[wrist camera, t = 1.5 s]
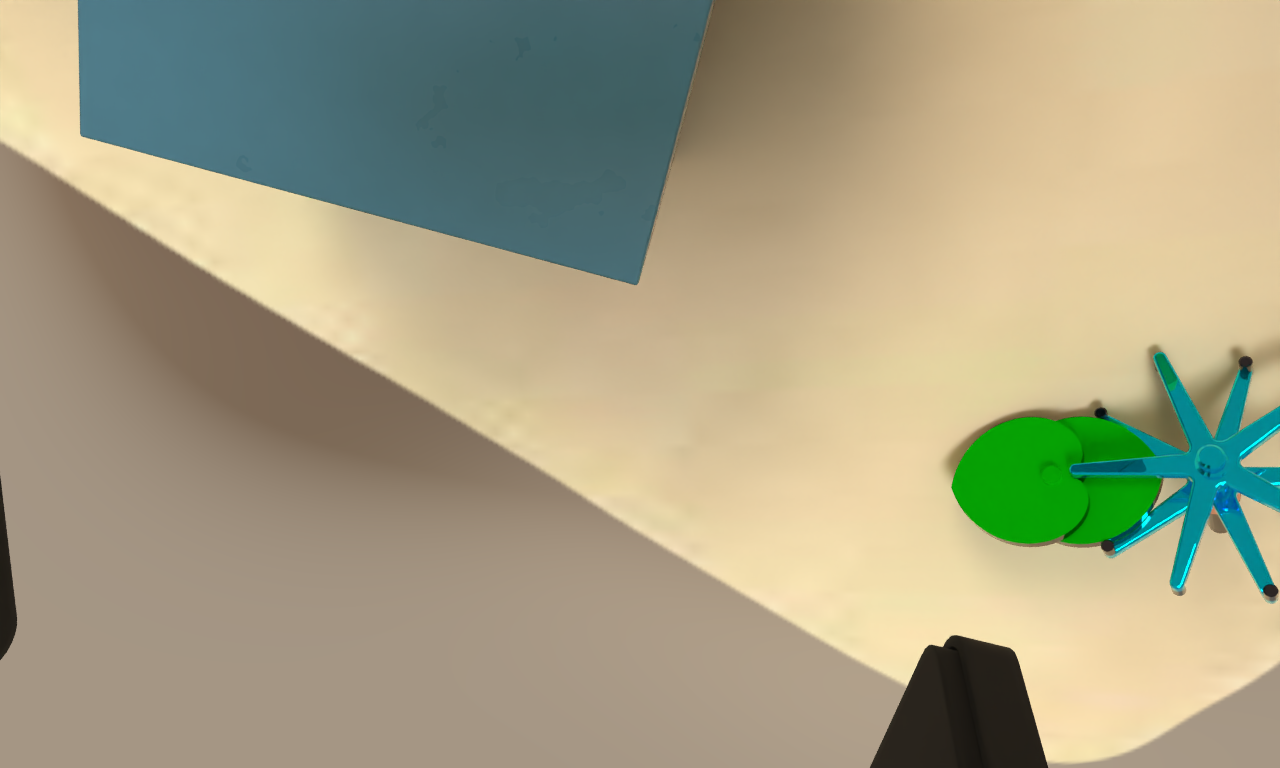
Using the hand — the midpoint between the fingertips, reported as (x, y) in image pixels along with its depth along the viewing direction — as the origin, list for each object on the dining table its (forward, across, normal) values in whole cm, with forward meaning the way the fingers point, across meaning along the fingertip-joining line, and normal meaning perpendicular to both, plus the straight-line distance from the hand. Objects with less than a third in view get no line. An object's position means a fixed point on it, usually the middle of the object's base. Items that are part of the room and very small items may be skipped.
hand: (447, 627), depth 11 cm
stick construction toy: (+25, -18, +9) cm, 32 cm away
